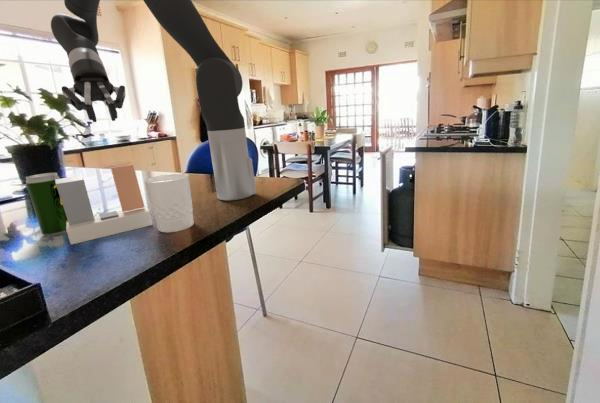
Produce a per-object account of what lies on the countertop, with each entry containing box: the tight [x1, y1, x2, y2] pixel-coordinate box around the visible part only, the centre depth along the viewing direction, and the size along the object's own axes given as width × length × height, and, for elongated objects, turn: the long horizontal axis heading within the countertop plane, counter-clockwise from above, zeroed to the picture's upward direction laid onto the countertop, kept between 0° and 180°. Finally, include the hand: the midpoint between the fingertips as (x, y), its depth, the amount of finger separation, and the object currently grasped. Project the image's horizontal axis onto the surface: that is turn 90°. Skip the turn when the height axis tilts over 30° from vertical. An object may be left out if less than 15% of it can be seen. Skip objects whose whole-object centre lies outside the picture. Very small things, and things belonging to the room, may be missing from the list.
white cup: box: [143, 172, 195, 233], centre depth 61 cm, size 8×8×10 cm
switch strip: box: [66, 205, 153, 245], centre depth 63 cm, size 14×6×3 cm, turn 125°
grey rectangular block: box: [55, 175, 95, 225], centre depth 57 cm, size 4×2×9 cm, turn 125°
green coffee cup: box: [25, 172, 68, 238], centre depth 63 cm, size 5×5×12 cm
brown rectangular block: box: [110, 164, 145, 212], centre depth 65 cm, size 4×2×9 cm, turn 125°
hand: (104, 118), depth 74 cm, fingers open, 3 cm apart
